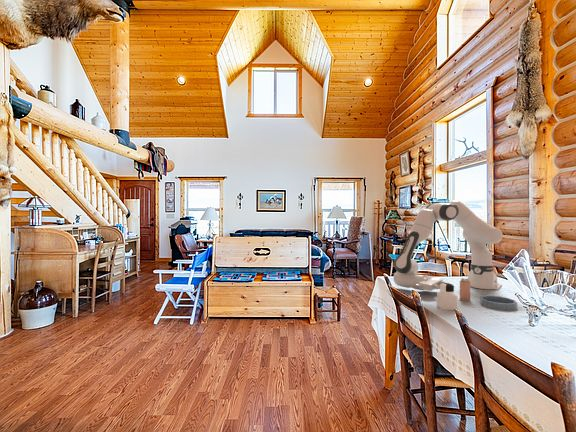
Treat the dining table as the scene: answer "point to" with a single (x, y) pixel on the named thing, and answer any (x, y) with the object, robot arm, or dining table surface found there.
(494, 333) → the dining table surface
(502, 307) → the bowl
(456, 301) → the medicine bottle
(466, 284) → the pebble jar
